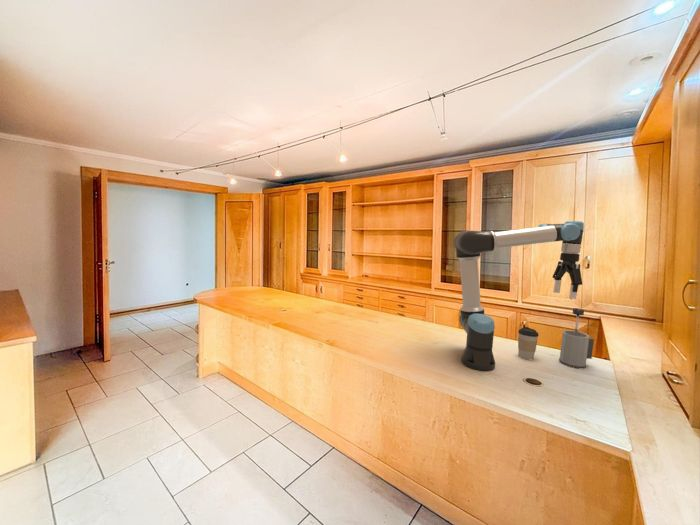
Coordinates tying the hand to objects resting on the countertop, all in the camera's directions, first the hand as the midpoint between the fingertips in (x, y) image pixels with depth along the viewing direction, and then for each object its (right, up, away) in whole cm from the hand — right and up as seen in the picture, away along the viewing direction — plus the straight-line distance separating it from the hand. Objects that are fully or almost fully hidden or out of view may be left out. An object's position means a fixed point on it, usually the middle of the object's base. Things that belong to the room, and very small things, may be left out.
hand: (564, 295), depth 148 cm
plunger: (+5, -22, -1) cm, 22 cm away
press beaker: (+6, -34, 0) cm, 35 cm away
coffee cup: (-15, -33, +7) cm, 37 cm away
